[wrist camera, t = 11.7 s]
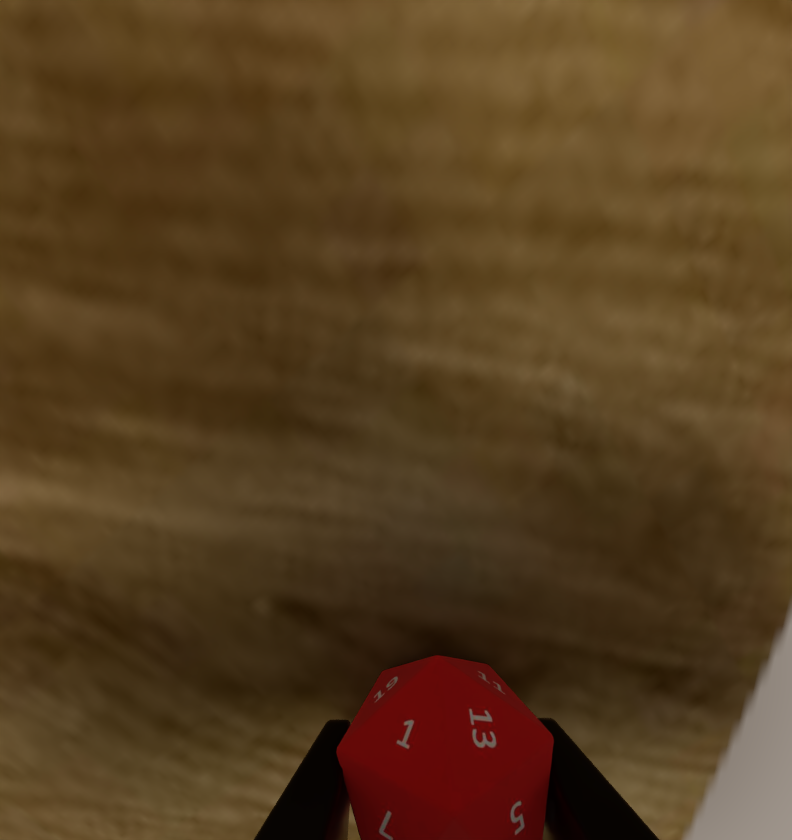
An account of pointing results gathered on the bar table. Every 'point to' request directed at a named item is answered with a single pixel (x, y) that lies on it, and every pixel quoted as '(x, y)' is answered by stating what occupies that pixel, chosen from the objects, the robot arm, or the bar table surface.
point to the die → (446, 756)
